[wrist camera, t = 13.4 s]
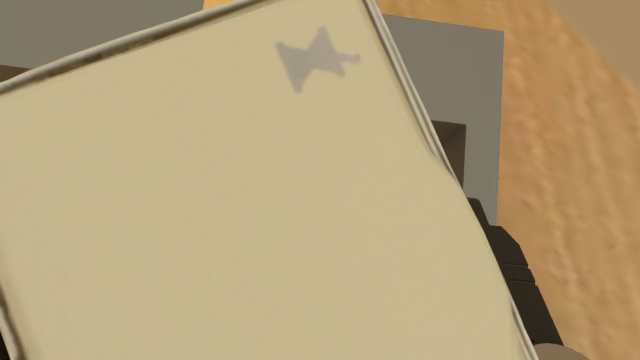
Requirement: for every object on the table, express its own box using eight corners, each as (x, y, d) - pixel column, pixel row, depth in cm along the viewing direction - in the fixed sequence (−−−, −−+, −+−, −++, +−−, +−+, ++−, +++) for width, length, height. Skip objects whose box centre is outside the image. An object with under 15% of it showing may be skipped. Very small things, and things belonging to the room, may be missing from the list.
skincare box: (145, 221, 17) (-104, 68, 5) (284, 167, 18) (351, -79, 6) (228, 436, 16) (164, 851, 4) (369, 369, 17) (649, 565, 5)
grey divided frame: (-492, 491, 15) (-660, 538, 12) (-315, -47, 18) (-419, -108, 15) (448, 547, 17) (485, 597, 14) (473, 62, 20) (508, 26, 17)
